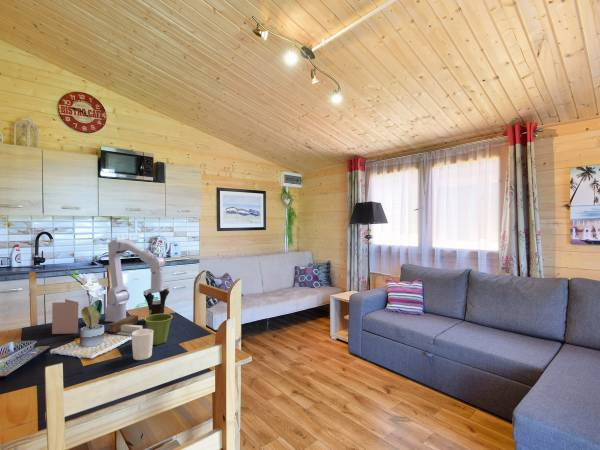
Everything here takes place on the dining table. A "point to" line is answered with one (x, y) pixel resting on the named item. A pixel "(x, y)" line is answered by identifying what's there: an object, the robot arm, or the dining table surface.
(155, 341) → the plant pot
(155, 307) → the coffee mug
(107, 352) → the dining table surface
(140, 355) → the white cup
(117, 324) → the walnut bar
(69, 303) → the greeting card
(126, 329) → the fulcrum
